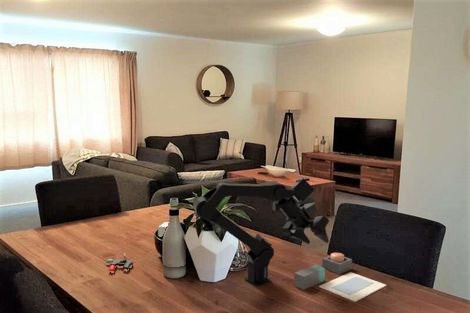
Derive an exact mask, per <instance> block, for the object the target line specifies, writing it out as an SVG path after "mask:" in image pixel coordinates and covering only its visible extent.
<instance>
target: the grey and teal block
mask: <svg viewBox="0 0 470 313" xmlns="http://www.w3.org/2000/svg"><path fill="white" fill-rule="evenodd" d="M325 273H326V269H325V268H323V267H322V266H320V265H317V264H314V265H312V266H310V267H306V268H304V269H301V270H299V271H295V272H294V277H293V278H294V279H293V280H294V281H293V286H294V287H295V288H299V289H300V290H306V289H309V288H311V287H313V286H315V285H318V284H320V283H322V282H325V279H326V278H325V277H326V276H325V275H326V274H325Z"/></svg>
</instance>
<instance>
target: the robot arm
mask: <svg viewBox="0 0 470 313" xmlns="http://www.w3.org/2000/svg"><path fill="white" fill-rule="evenodd" d="M315 192H316V189H315V188H314V187H313V186H312V185H311V184H310V183H309V182H308V181H307V180H306V179H305V178H303V177H299V179H298V180H297V181H296V182H295V183H293V185H292V186H291V187H289V186H287V185H284V184H282V183H280V182H278V181H277V180H270V181H269V180H268V181H264V182H261V183H229V182H222V181H221V182H219V183H217V184H216V185H215V186H214V187H212V188H211V189H209V190H208V191H206V192H205V193H204V194H203V195H202V196H199V197H196V199H195V200H194V201H193V209H194V211H195V213H196V214H197V215H198V217H199V218H201V219H203V220H206V221H208V222H210V223H213V224H216V225H218V227H220V228H222V229H223V230H224V231H226V232H227V233H228V234H230V235H231V236H233V237H235V239H237V240H239V241H240V242H241V243H243V245H245V246H247V247H248V248H249V250H248V252H247V253H246V254H245V255H246V257H247V260H248V261H249V262H248V263H247V277H245V278H244V281H246V282H249V283H251V284H252V285H256V286H260V285H263V284H265V283H268V282H270V281H271V278H269V277H268V276H269V274H268V273H269V271H268V270H269V268H268V267H269V265H270V262H271V260H272V259H273V257H274V255H275V249H274V248H273V247H272V245H273V244H272V243H271V242H270V241H269V240H268V239H267V238H266V237H263V236H262V235H261V234H260V233H259V232H258V233H257V234H256V235H253V234H251V233H249V232H248V231H247V230H246V229H244V228H242V227H241V226H240V225H238V223H236V222H234V221H233V220H232V219H231V218H230V217H228V216H226V215H225V214H223V213H222V212H221V210H219V209H218V207H219V205H220V204H221V203H222V202H223V200H224V199H225V198H226V197H257V198H258V197H260V198H263V199H267V200H271V201H273V202H272V207H271V208H272V210H273V211H275V212H278V211H279V210H280V211H281V212H282V214H284V216H285V217H286V218H285V224H284V225H283V227H282V230H281V231H282V233H283V235H284V236H285V237H286V236H288V237H289V238H293V239H295V240H298V241H300V242H303V243H305V244H307V245H309V244H310V243H311V241H310V238H308V236H307V235H306V233H305V232H304V231H303V230H305V229H308V228H309V229H310V231H311V232H312V233H313V235H314V236H316V237H317V238H319V239H320V240H321V241H322V242H325V243H326V244H329V242H330V239H329V236H328V233H327V230H326V228H327V225H328V224H329V223H330V219H329V218H328V217H327V216H326V215H319V216H315V217H314V216H313V214H316V213H318V212H319V210H318V207H317V204H316V203H315V202H308V203H305V204H304V202H306V201H307V200H308V199H309V198H310V197H311V196H312V195H313V194H314V193H315ZM296 201H297V202H298V203H297V202H296ZM300 202H301V203H300ZM313 218H314V219H313ZM311 219H313V220H311Z"/></svg>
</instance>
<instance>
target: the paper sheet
mask: <svg viewBox="0 0 470 313" xmlns="http://www.w3.org/2000/svg"><path fill="white" fill-rule="evenodd" d="M318 287H319V288H321V289H323V290H326V291H328V292H330V293H333V294H335V295H337V296H340V297H343V298H345V299H347V300H350V301H352V302H354V303H356V302H358V301H359V300H362V299H363V298H365V297H367V296H369V295H371V294H373V293H375V292H377V291H380V290H381V289H383V288H386V287H387V284H385V283H382V282H380V281H376V280H374V279H371V278H369V277H365V276H363V275H360V274H357V273H354V272H352V271H351V272H348V273H346V274H344V275H341V276H338V277H337V278H334V279H332V280H330V281H327V282H326V283H323V284H321V285H318Z"/></svg>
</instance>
